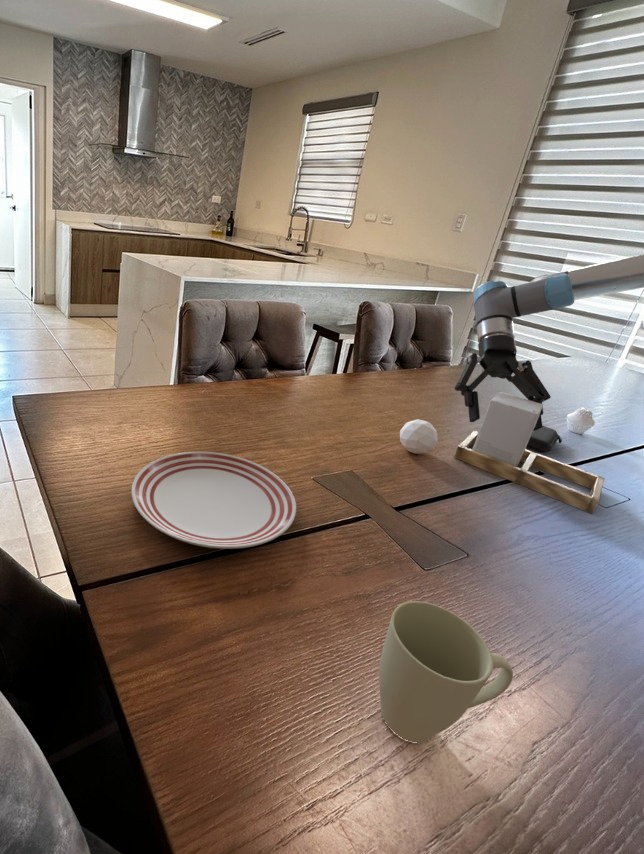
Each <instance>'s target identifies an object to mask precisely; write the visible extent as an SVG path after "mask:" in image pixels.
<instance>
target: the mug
mask: <svg viewBox="0 0 644 854" xmlns="http://www.w3.org/2000/svg"><path fill="white" fill-rule="evenodd" d="M382 646H383V647H382V650H381V654H380V660H379V667H378V686H379V703H380V714H381V713H382V714H381V717H382V716H383V718H384V720H385V722H386V723H387V725H388V726H389V727H390V728H391V729H392V730H393V731H394V732H395V733H396V734H398V735H399V736H400V737H402V738H403V739H406V740H408V741H412V742H417V743H420V744H422V743H421V742H423V743H424V741H425V742H427V741H428V740H430V739H432V738H433V737H435V736H436V735H438V734H440V733H442V732H443V731H446V730H447V729H449V728H450V727H451V726H453V725H454V724H455V723H457V721H459V720H460V719H461V718H462V717H463V715H464V714H465V713H466V712H467V711H468V709H470V708H474V707H477V706H479V705H482V704H486V703H487V702H490V701H492V700H494V699H496V698H498V697H499V696H501V695H503V693H504V692H505V691H506V690H507V689H508V688H509V687H510V685H511V684H512V681H513V678H514V670H513V667H512V666H511V664H510V663H509V661H508V660H507V659H506V658H505V657H504V656H503V655H501V654H499V653H496V652H495V653H494V652H491V649H490V647H489V645H488V644H487V642H486V641H485V639H484V638H483V637H482V635H480V633H479V632H478V631H477V630H476V628H474V627H473V626H472V625H471V624H470V623H469V622H468V621H466V620H465V619H463V618H462V617H461V616H459V615H458V614H456V613H454V612H453V611H451V610H449V609H447V608H445V607H442V606H440V605H438V604H435V603H431V602H427V601H419V600H413V601H412V600H411V601H405V602H403V603H400V604H399V605H398V606H396V607H395V609H394V610H393V612H392V614H391V616H390V621H389V625H388V629H387V630H386V634H385V639H384V642H383V645H382ZM494 669H500V671H499V673H498V674H497V676H496V677H495V678H494V679H492V681H491V682H489V683H487V681H488V680H489V678H490V677H491V676H492V674H493V670H494ZM486 683H487V684H486ZM383 718H382V719H383ZM384 720H383V721H384ZM385 722H384V723H385ZM387 725H386V726H387Z"/></svg>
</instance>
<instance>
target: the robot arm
mask: <svg viewBox="0 0 644 854" xmlns="http://www.w3.org/2000/svg"><path fill="white" fill-rule="evenodd" d="M639 289H644V253H642V254H638V255H634V256H628V257H624V258H620V259H616V260H611V261H605V262H602V263H596V264H592V265H587V266H584V267H583V266H582V267H578V268H574V269H570V270H567V271H560V272H557V273H552V274H551V273H550V274H543V275H539V276H537V277H535V278H532V280H531V281H529V282H526V283H522V284H518V285H513V286H509V285H508V283H506V282H505V281H502V280H496V281H493V280H490V281H485V282H484V283H482V284H480V285H479V286H477V287H476V288H475V290H474V293H473V309H474V317H475V324H476V334H477V343H478V344H477V347H478V348H477V349H478V354H477V353H476V352H472V353H471V354H470V355H469V356H467V358H466V360H465V367H464V368H463V370H462V372H461V375H460V376H459V378H458V380H457V382H456V384H455V386H454V390H455V391H456V392H460V395H461V396H463V400H464V406H465V407H468V408H467V409H468V418H469V422H470V423H475V422H476V421H478V420H480V419H481V413H480V404H479V393H478V391H477V390H475V389H476V388H477V387H478V386H479V385H480V384H481V383H482V382H483V381H484V380H485V379H486V378H487V377H488V376H490V378H498V379H502V380H507V382H509V383H512V384H513V385H514V387H515V388H516V389H517V390H518V391H519V392H520V393H521V394H522V395H523V396H524V397H525V399H526V400H530V401H533V402H537V403H540V404H543V403H544V402H546V401H548V400H550V399H551V397H552V396H551V394H550V393H549V391H548V390H547V388H546V387H545V385H544V384H543V382H542V381H541V379H540V377H539V376H538V375H537V373H536V371H535V370H534V368H533V363H532V362H531V360H525V361H524V362H523V361H518V360H517V353H518V351H517V342H516V339H515V337H516V333H515V328H514V321H513V319H514V318H520V317H523V316H529V315H535V314H539V313H544V312H550V311H557V310H560V309H562V308H563V309H564V308H566V307H570V306H572V305H574V303H575V301H578V300H583V299H589V298H595V297H599V296H605V295H612V294H616V293H622V292H627V291H632V290H633V291H634V290H639ZM478 364H479V366H480V367H481V369H482V370H481V371H480V372H479V373H478V374H477V375H476V376H475V378H474V379H472V381H470V383H468V382H469V380H470V378H471V376H472V374H473V372H474V371H475V368H476V366H477V365H478ZM513 374H514V375H513ZM467 383H468V385H467ZM543 415H544V407H542V409H541V412H540V415H539V418H538V420H537V423H536V425H535V427H534V430H533V431H535V430H537V429H540V428H542V427H543V426H544V425H543V420H542V416H543Z"/></svg>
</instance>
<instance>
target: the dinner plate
mask: <svg viewBox="0 0 644 854" xmlns="http://www.w3.org/2000/svg"><path fill="white" fill-rule="evenodd" d="M130 492H131V499H132V502H133V505H134V507H135V508H136V510H137V512H138V514H140V516H141V517H142V518H143V519H144V520H145V521H146V522H147V523H149V525H151V526H152V527H153V528H155V529H156V530H158V531H160V532H161V533H163V534H165V535H166V536H168V537H171V538H172V539H175V540H178V541H180V542H183V543H185V544H188V545H189V544H190V545H193V546H197V547H201V548H209V549H218V550H219V549H220V550H235V549H246V548H253V547H256V546H260V545H263V544H266V543H268V542H269V543H270V542H271V541H274V540H275V539H277V538H279V537H280V536H282V535H283V534H284V533H285V532H286V531H287V530H288V529H289V528H290V527H291V526H292V524H293V522H294V520H295V518H296V514H297V503H296V499H295V496H294V494H293V492H292V489H290V487H289V486H288V485H287V483H285V481H284V480H282V479H281V478H280V477H279V476H278V475H277V474H275V473H274V472H272V471H271V470H270V469H268V468H267V467H265V466H262V465H261V464H258V463H256V462H254V461H253V460H249V459H246V458H243V457H239V456H236V455H232V454H227V453H221V452H215V451H184V452H179V453H177V452H176V453H173V454H168V455H166V456H163V457H160V458H157V459H155V460H153V461H151V462H149V463H148V464H146V465H145V466H143V468H141V469H140V471H138V473H137V474H136V476H135V477H134V479H133V481H132V483H131V491H130Z"/></svg>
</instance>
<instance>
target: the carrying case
mask: <svg viewBox="0 0 644 854" xmlns="http://www.w3.org/2000/svg"><path fill="white" fill-rule="evenodd" d="M542 426H543V427H542V428H540V429H537V430H535V431H533V432H532V435H531V437H530V439H529V442H528V444H527V446H526V449H529V450H531V451H534V452H537V453H545V452H550V451H551V449H552V448H553V446H554V445H555V444H556V443H557V441H558V444H561V443H562V442H563V438H562V436H560V434H559V433H558V432H557V430H555V429H554V428H551V427H548V426H546V425H542Z"/></svg>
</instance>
